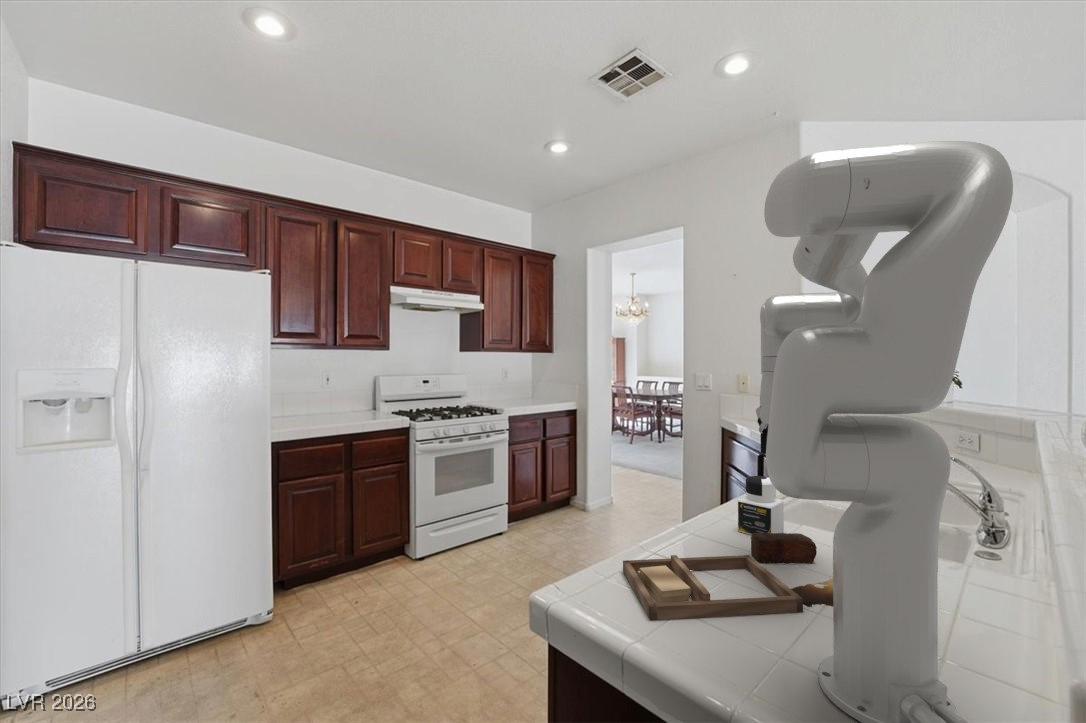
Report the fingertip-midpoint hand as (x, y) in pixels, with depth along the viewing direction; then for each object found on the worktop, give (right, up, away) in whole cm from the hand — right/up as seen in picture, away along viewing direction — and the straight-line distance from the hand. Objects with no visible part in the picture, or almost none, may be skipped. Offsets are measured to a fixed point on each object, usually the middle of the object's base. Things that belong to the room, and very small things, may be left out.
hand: (783, 458), depth 89 cm
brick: (+1, -20, +2) cm, 20 cm away
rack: (-18, -20, -10) cm, 29 cm away
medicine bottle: (+3, -20, +16) cm, 25 cm away
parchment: (+7, -20, -10) cm, 24 cm away
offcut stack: (-25, -20, -11) cm, 34 cm away
